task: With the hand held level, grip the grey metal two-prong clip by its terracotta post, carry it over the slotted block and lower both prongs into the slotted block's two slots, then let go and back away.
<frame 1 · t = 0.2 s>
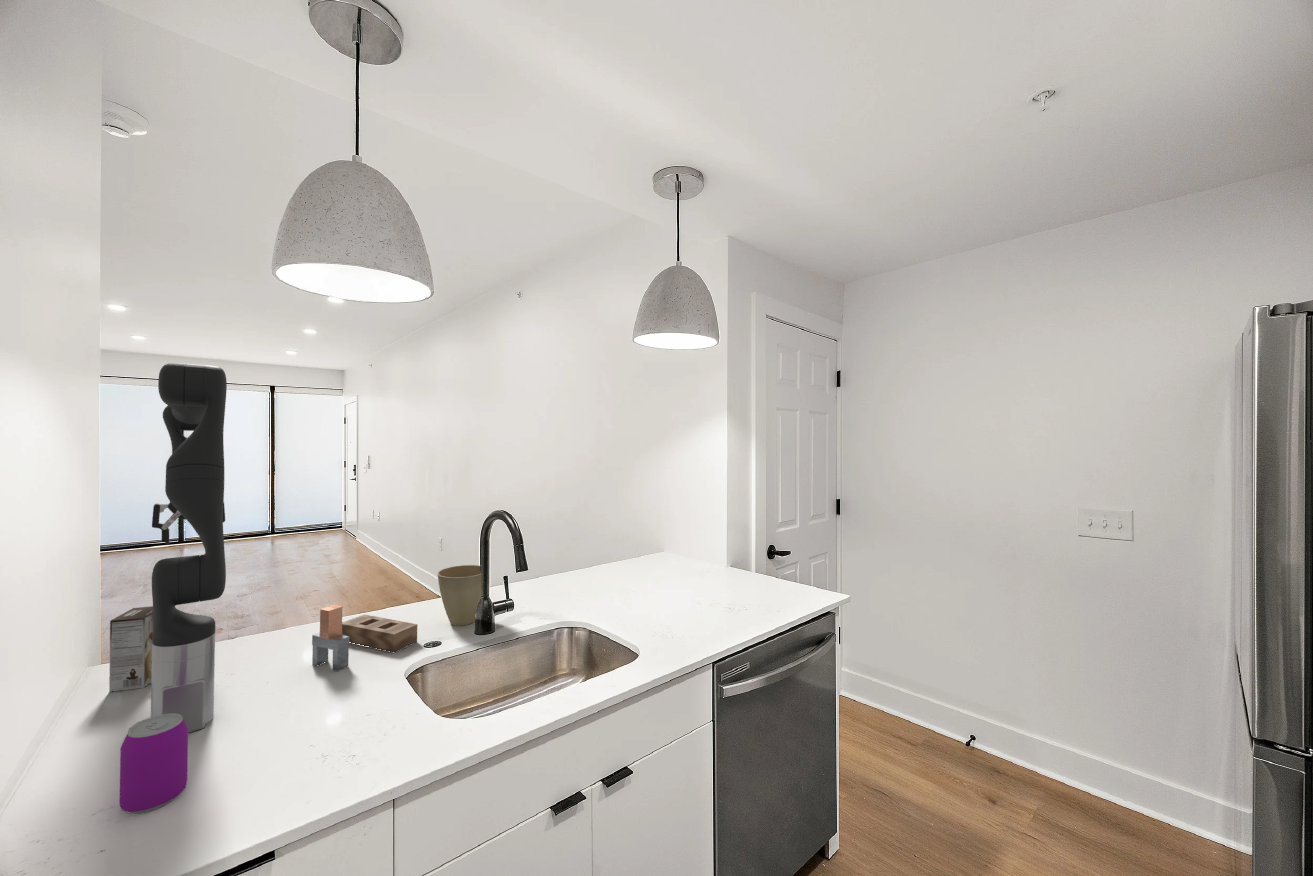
hand: (189, 541, 136), 29 cm above the worktop, tool pointing down, fingers open, 8 cm apart
slotted block: (378, 641, 144), on the worktop
beverage can: (154, 800, 81), on the worktop
clip: (330, 665, 129), on the worktop
coffee box: (138, 682, 119), on the worktop
plant pot: (462, 622, 161), on the worktop
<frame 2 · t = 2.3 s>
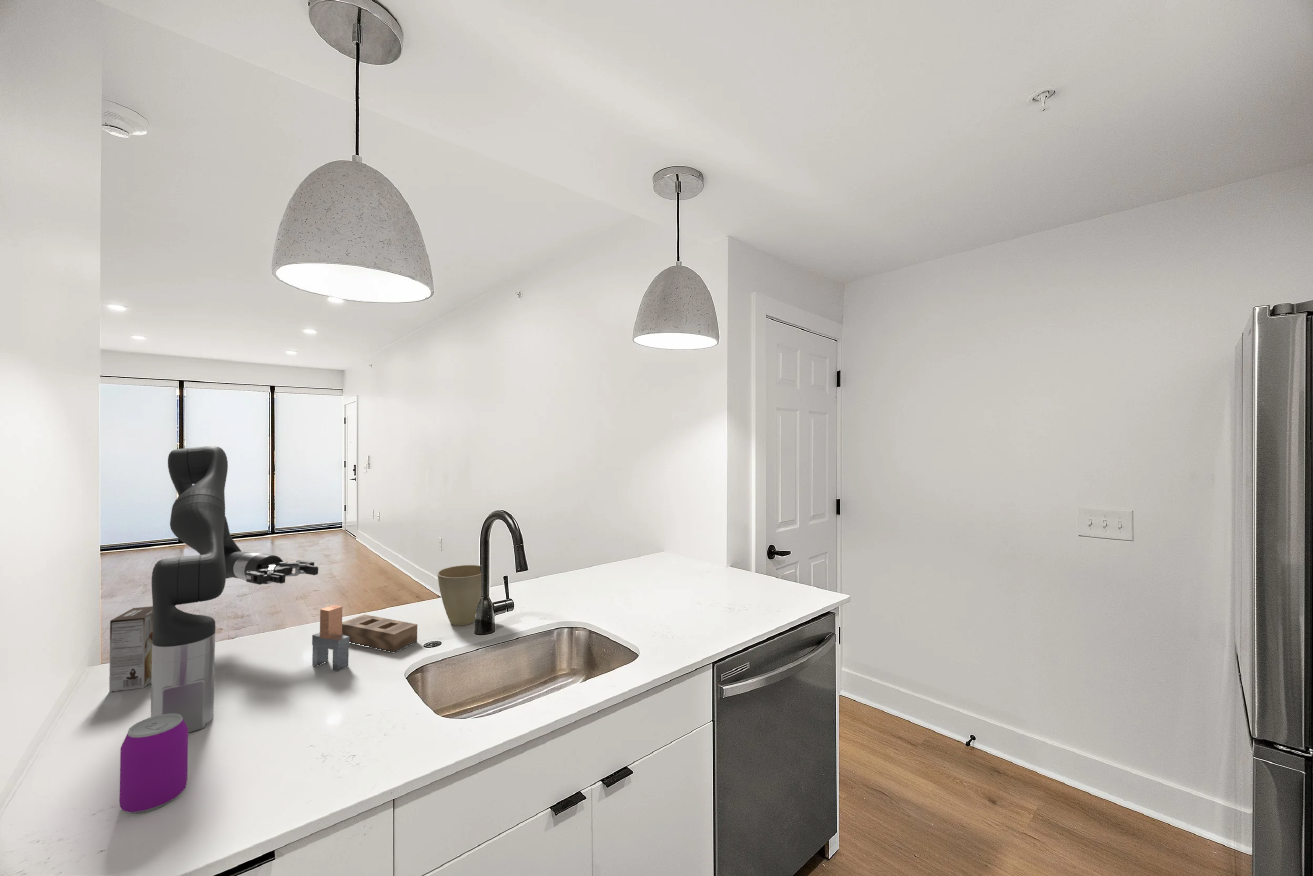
hand: (300, 574, 133), 21 cm above the worktop, tool horizontal, fingers open, 8 cm apart
nothing on the worktop moved.
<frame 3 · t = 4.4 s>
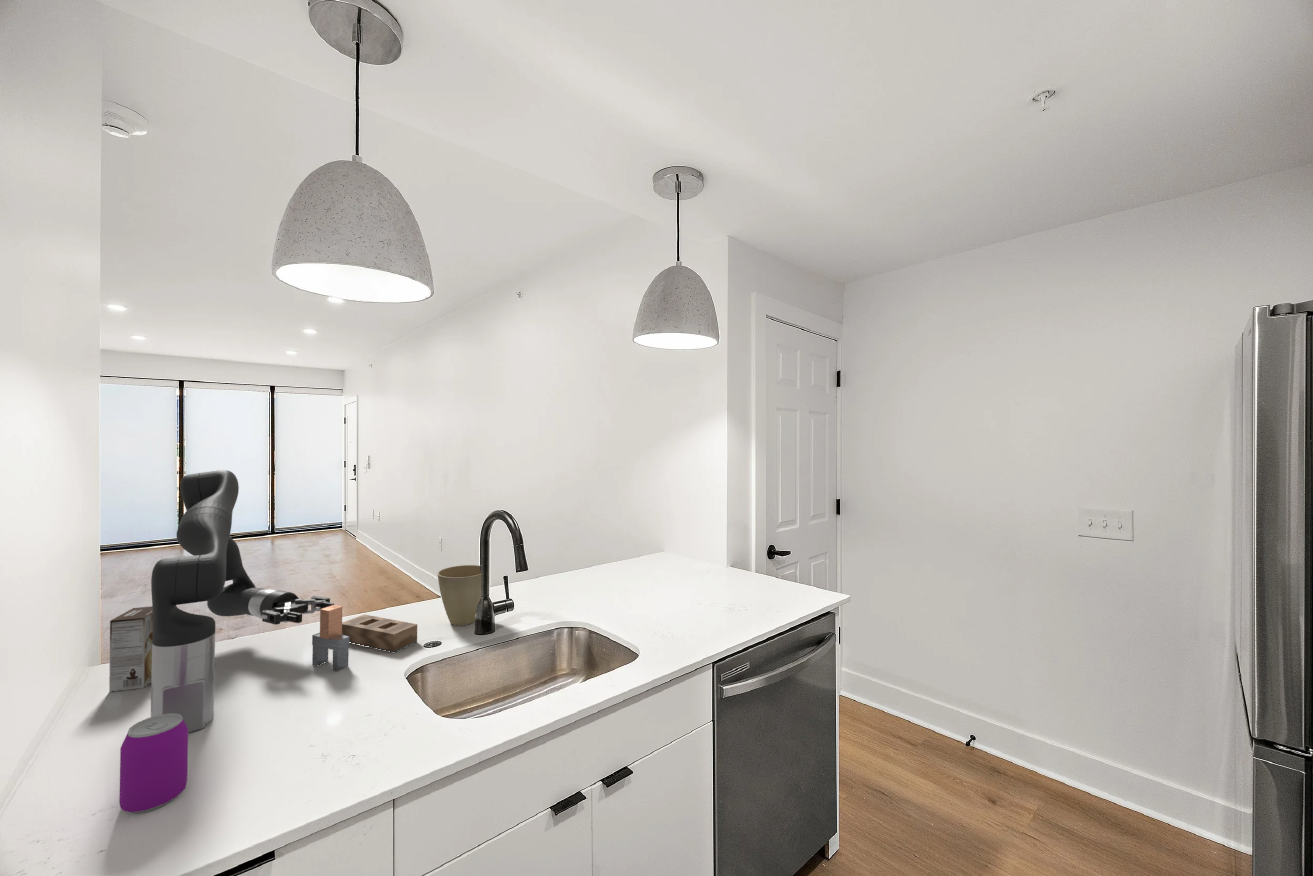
hand: (317, 613, 131), 13 cm above the worktop, tool horizontal, fingers open, 8 cm apart
nothing on the worktop moved.
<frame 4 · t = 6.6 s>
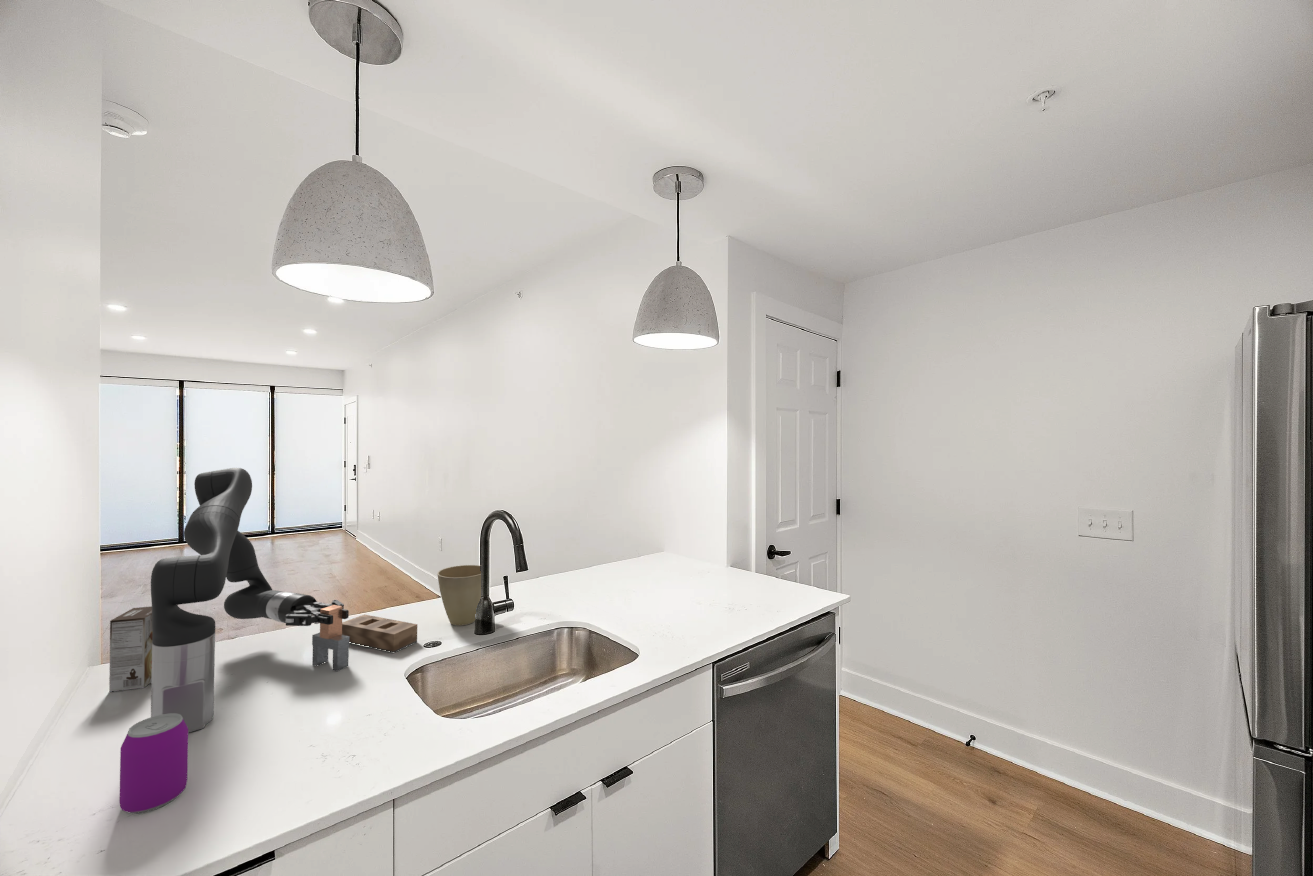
hand: (339, 617, 128), 12 cm above the worktop, tool horizontal, fingers closed on clip, 3 cm apart
clip: (330, 665, 129), on the worktop, touching gripper
everything else where it was.
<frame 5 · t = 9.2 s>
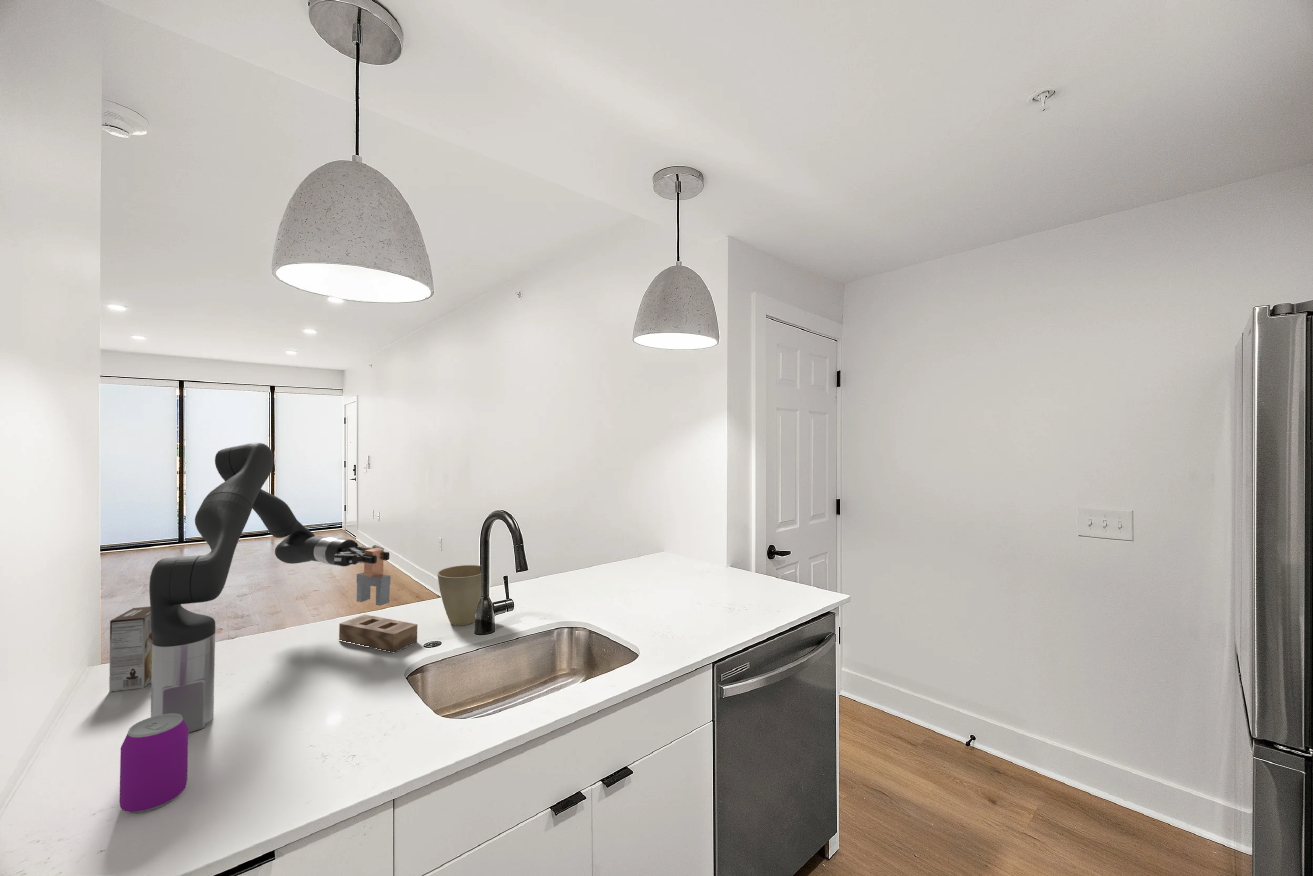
hand: (381, 557, 142), 24 cm above the worktop, tool horizontal, fingers closed on clip, 3 cm apart
clip: (372, 601, 143), point 12 cm above the worktop, touching gripper
everything else where it was.
when the fingers open (14 cm above the worktop, at t = 12.2 s): clip stays where it is, resting on slotted block.
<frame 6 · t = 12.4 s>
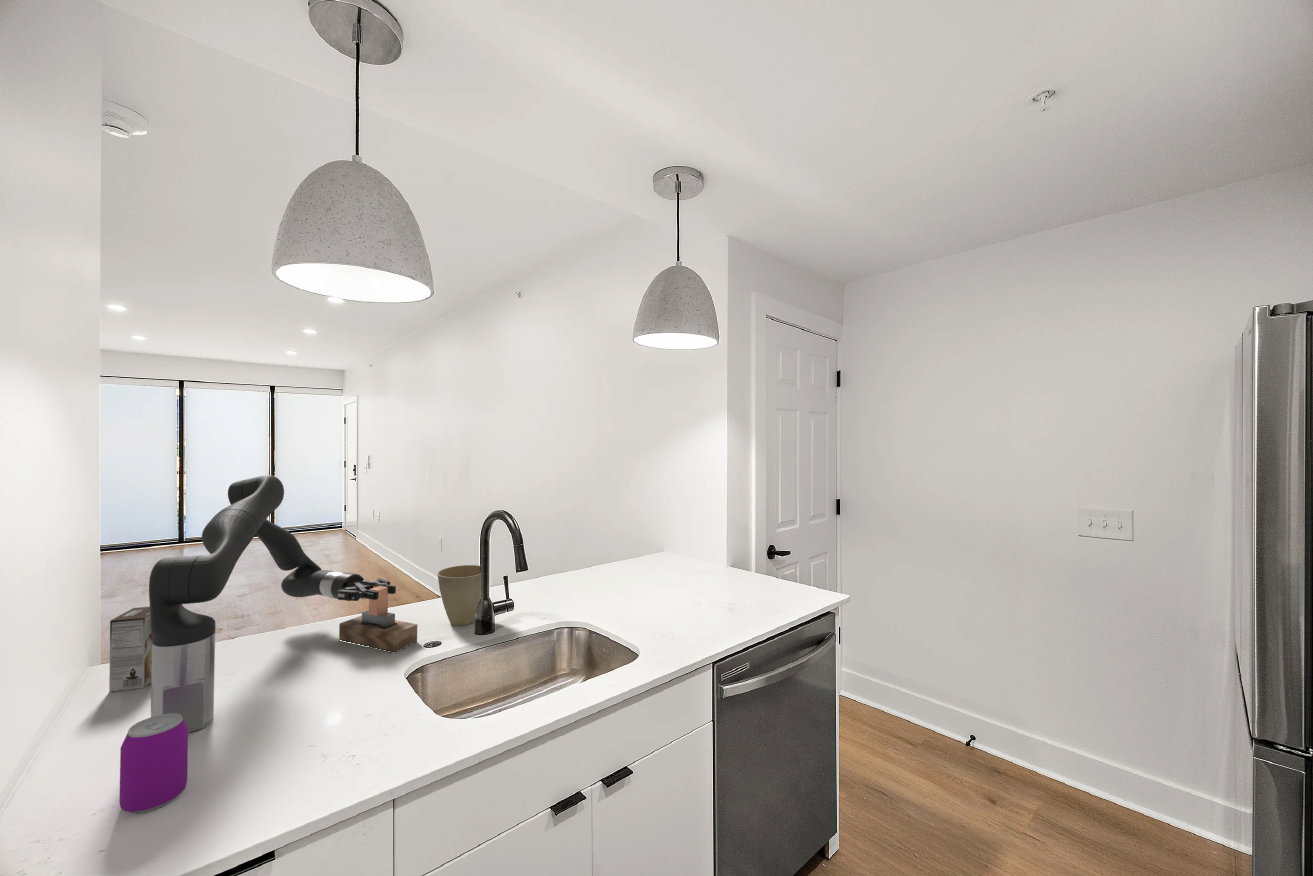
hand: (386, 592, 144), 14 cm above the worktop, tool horizontal, fingers open, 5 cm apart
clip: (377, 640, 144), resting on slotted block
everything else where it was.
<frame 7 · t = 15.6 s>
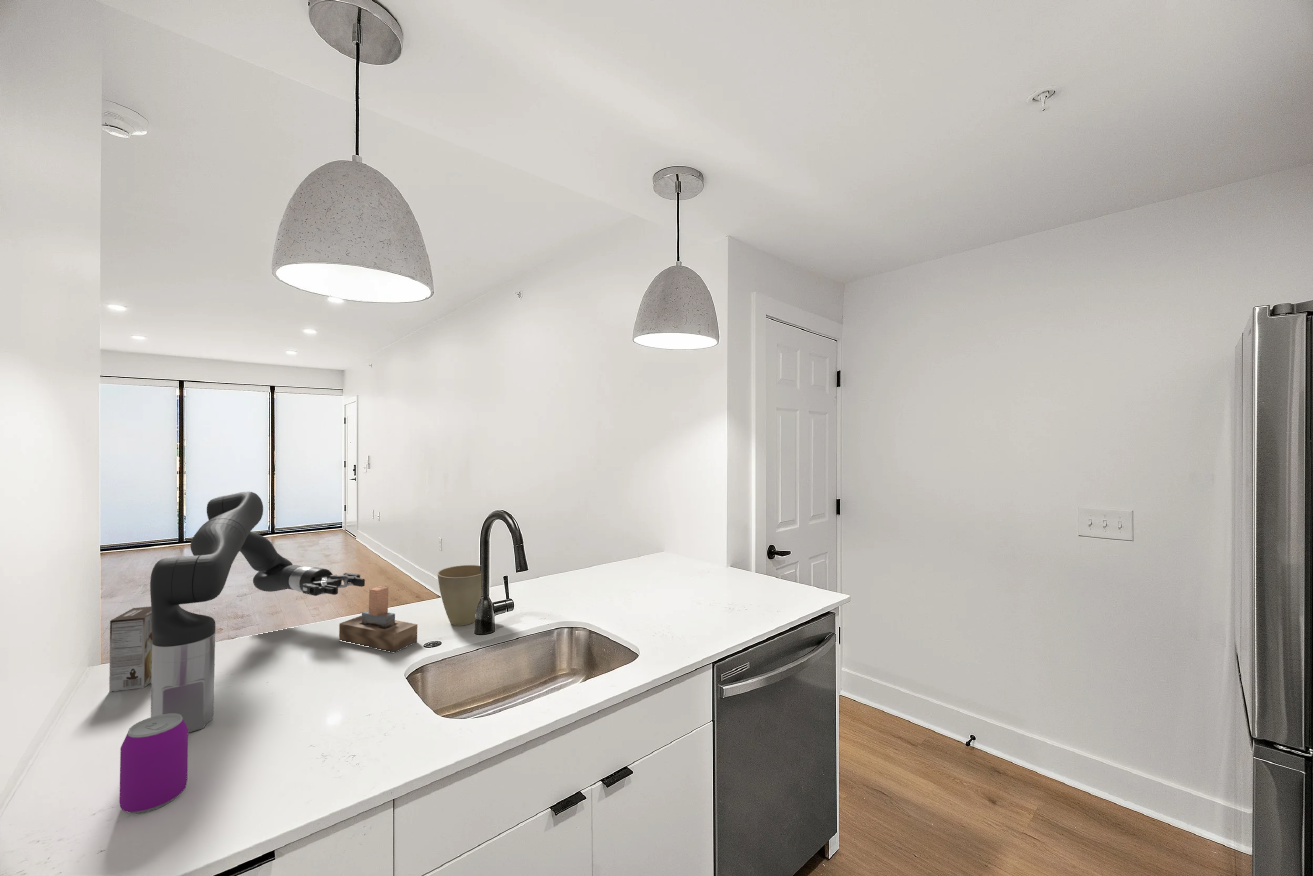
hand: (350, 586, 148), 14 cm above the worktop, tool horizontal, fingers open, 8 cm apart
nothing on the worktop moved.
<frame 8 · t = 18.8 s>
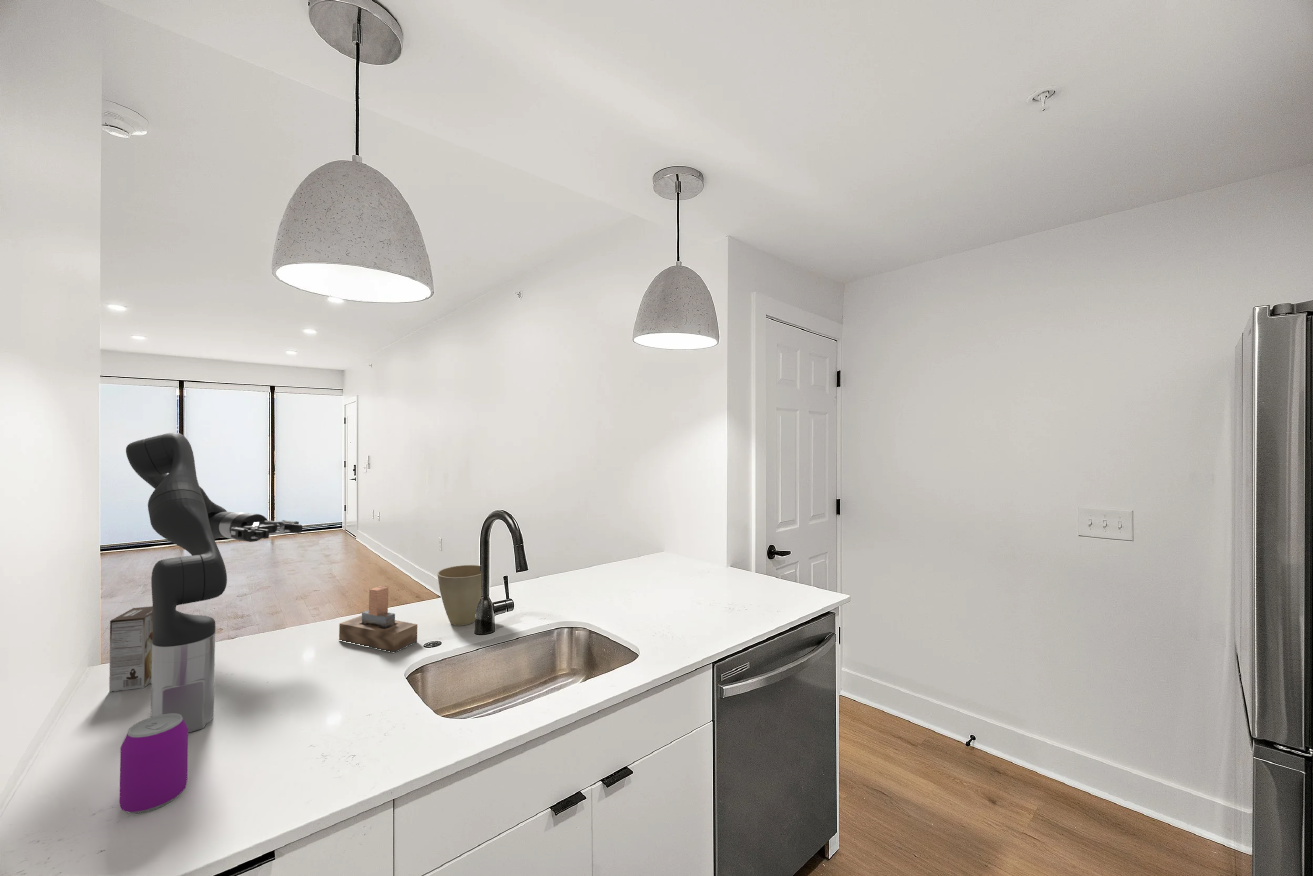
hand: (284, 531, 136), 32 cm above the worktop, tool horizontal, fingers open, 8 cm apart
nothing on the worktop moved.
at the end: clip 0.1 cm off-centre on the slotted block, point 0.5 cm above the slotted block's base; clip tilted 0°; the gripper is holding nothing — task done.
